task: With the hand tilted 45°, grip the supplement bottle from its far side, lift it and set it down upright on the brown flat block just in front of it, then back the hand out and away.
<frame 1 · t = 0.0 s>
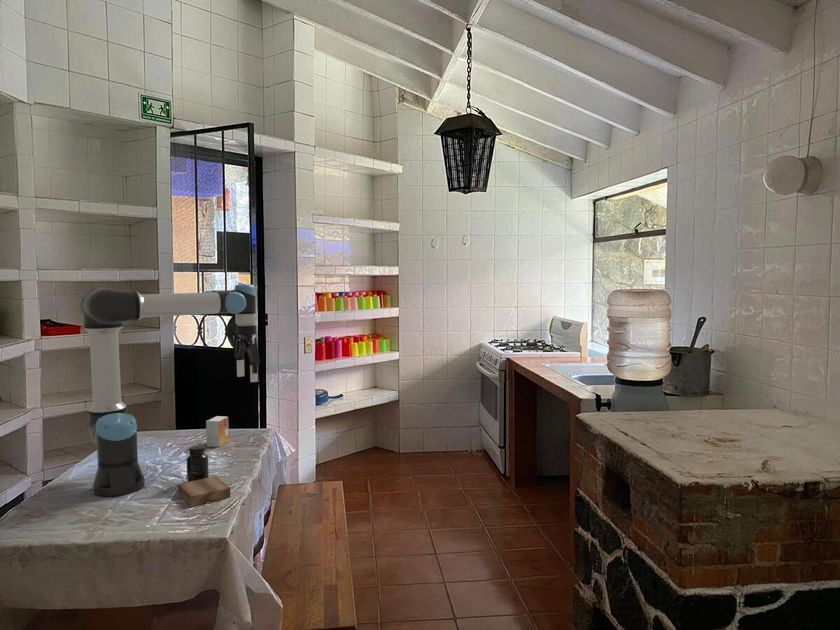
hand: (247, 379, 235), 28 cm above the table, tool pointing down, fingers open, 13 cm apart
supplement bottle: (198, 482, 202), on the table
brown flat block: (204, 495, 191), on the table
small box: (218, 444, 245), on the table
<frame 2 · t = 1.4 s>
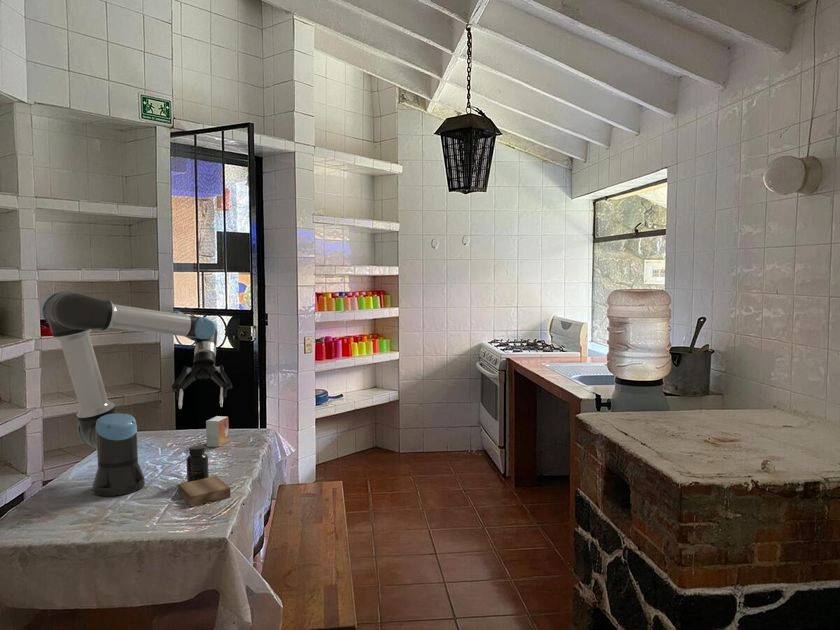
hand: (200, 406, 211), 23 cm above the table, tool tilted 45°, fingers open, 13 cm apart
nothing on the table moved.
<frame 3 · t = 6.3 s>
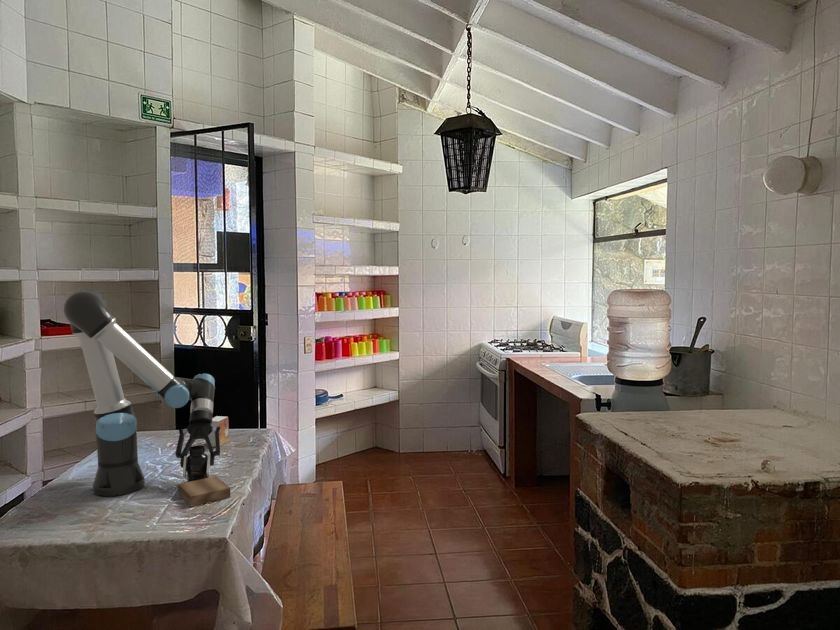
hand: (196, 475, 199), 4 cm above the table, tool tilted 45°, fingers closed on supplement bottle, 7 cm apart
supplement bottle: (198, 482, 202), on the table, touching gripper
everything else where it was.
when the fingers open (8 cm above the table, at t = 11.1 s): supplement bottle drops 1 cm, resting on brown flat block.
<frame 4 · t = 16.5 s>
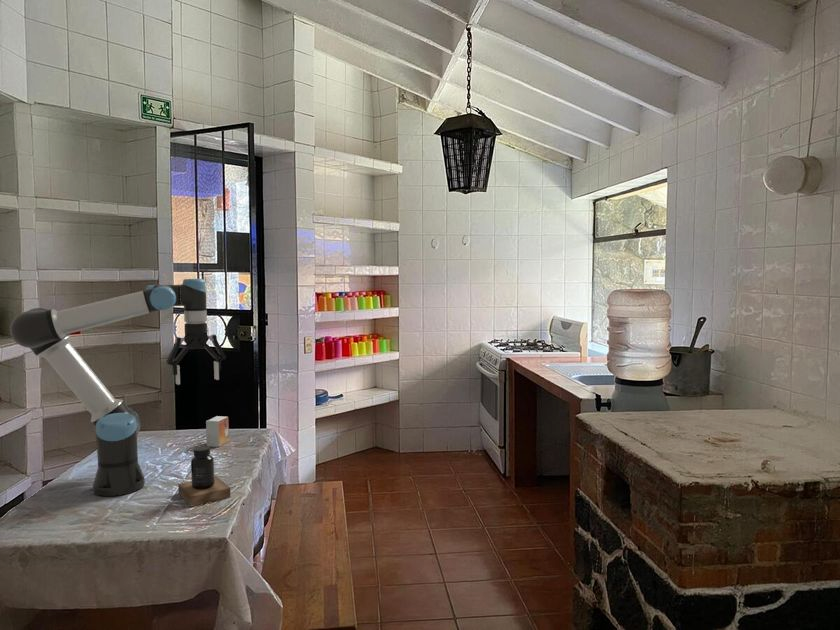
hand: (197, 381, 216), 31 cm above the table, tool pointing down, fingers open, 13 cm apart
supplement bottle: (203, 486, 191), point 3 cm above the table, touching brown flat block
everything else where it was.
at the end: supplement bottle inside the target area on the brown flat block (0.3 cm from its centre), point 2.8 cm above the brown flat block's base; supplement bottle tilted 0°; the gripper is holding nothing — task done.
